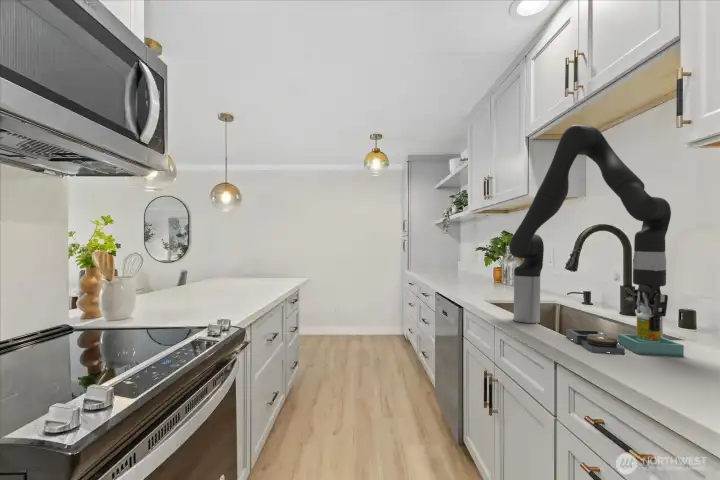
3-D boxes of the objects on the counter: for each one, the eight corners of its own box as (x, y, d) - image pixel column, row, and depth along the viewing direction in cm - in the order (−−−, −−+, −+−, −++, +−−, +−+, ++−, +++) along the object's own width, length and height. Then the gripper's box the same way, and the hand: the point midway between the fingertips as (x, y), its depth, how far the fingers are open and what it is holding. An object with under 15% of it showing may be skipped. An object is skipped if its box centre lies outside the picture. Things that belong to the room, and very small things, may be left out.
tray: (618, 344, 117) (618, 333, 117) (659, 346, 115) (659, 336, 115) (636, 353, 106) (637, 342, 106) (683, 356, 104) (683, 345, 104)
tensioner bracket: (566, 336, 125) (566, 322, 125) (598, 338, 123) (599, 324, 123) (589, 352, 107) (589, 335, 107) (627, 354, 105) (627, 337, 105)
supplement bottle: (633, 340, 111) (634, 305, 111) (640, 338, 114) (640, 304, 114) (656, 344, 107) (657, 308, 107) (663, 341, 110) (663, 306, 110)
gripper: (622, 266, 118) (621, 323, 118) (648, 269, 104) (647, 333, 104) (650, 267, 117) (649, 324, 117) (680, 270, 103) (679, 335, 103)
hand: (648, 328), depth 111 cm, fingers closed on supplement bottle, 5 cm apart
